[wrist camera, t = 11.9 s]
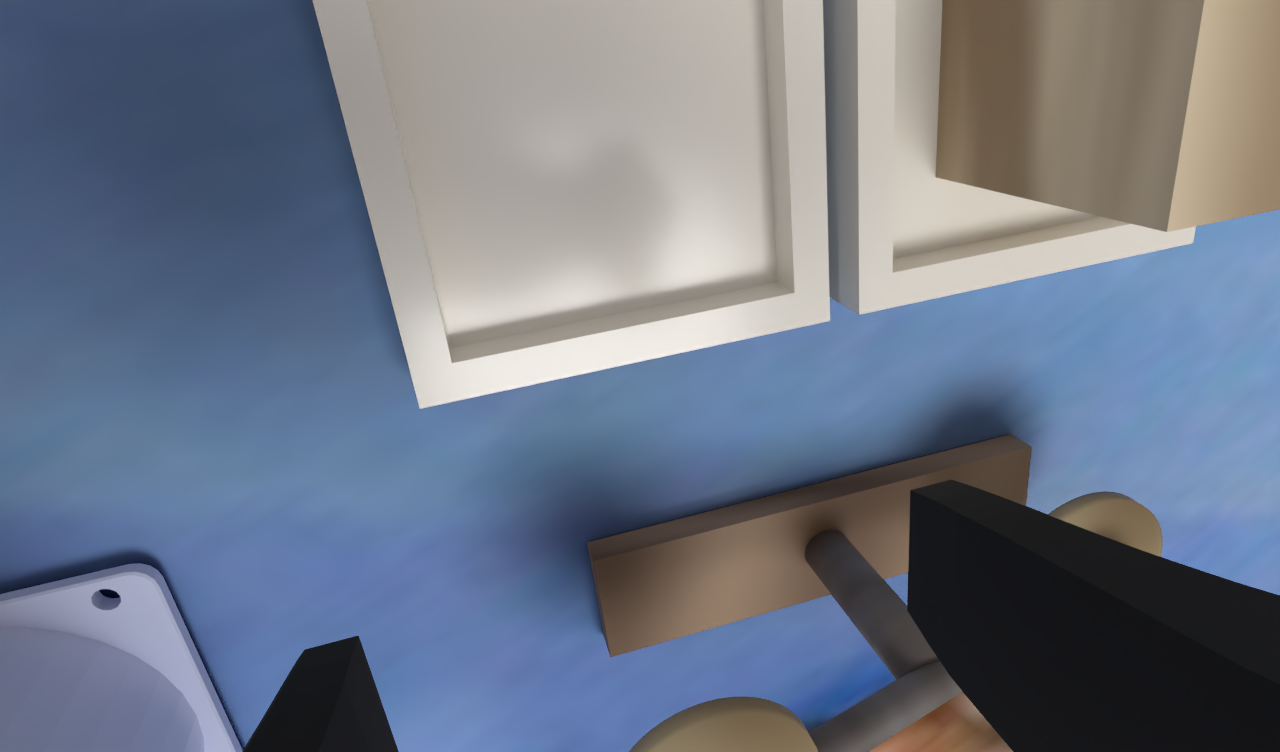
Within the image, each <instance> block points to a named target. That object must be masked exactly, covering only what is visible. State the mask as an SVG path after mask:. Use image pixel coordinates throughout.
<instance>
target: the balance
mask: <svg viewBox="0 0 1280 752" xmlns="http://www.w3.org/2000/svg"><path fill="white" fill-rule="evenodd" d="M1030 458H1031V446H1029V445H1028V444H1026V443H1024V442H1023V441H1021V440H1020V439H1018V438H1017V437H1015V436H1014V435H1012V434H1009V435H1005V436H1001V437H997V438H994V439H990V440H986V441H982V442H978V443H974V444H970V445H966V446H962V447H958V448H954V449H951V450H947V451H943V452H939V453H935V454H931V455H927V456H923V457H919V458H915V459H911V460H907V461H904V462H900V463H896V464H892V465H888V466H884V467H880V468H876V469H872V470H868V471H864V472H860V473H857V474H853V475H849V476H845V477H841V478H837V479H833V480H829V481H825V482H821V483H817V484H814V485H810V486H806V487H802V488H798V489H794V490H790V491H786V492H782V493H778V494H774V495H770V496H767V497H763V498H759V499H755V500H751V501H747V502H743V503H739V504H735V505H731V506H727V507H724V508H720V509H716V510H712V511H708V512H704V513H700V514H696V515H692V516H688V517H684V518H680V519H677V520H673V521H669V522H665V523H661V524H657V525H653V526H649V527H645V528H641V529H637V530H634V531H630V532H626V533H622V534H618V535H614V536H610V537H606V538H602V539H598V540H594V541H590V542H587V545H588V550H589V556H590V562H591V567H592V573H593V578H594V584H595V590H596V595H597V601H598V606H599V612H600V617H601V623H602V629H603V634H604V638H605V641H606V644H607V648H608V651H609V654H610V657H613V656H616V655H620V654H623V653H627V652H630V651H634V650H637V649H641V648H644V647H648V646H651V645H655V644H658V643H662V642H665V641H669V640H672V639H676V638H679V637H683V636H686V635H690V634H693V633H697V632H700V631H704V630H707V629H711V628H714V627H718V626H721V625H725V624H728V623H732V622H735V621H739V620H742V619H746V618H749V617H753V616H756V615H760V614H763V613H767V612H770V611H774V610H777V609H781V608H785V607H788V606H792V605H795V604H799V603H802V602H806V601H809V600H813V599H816V598H820V597H823V596H827V595H830V594H831V595H832V596H833V597H834V598H835V600H836V601H837V602H838V604H839V605H840V606H841V608H842V609H843V610H844V612H845V613H846V614H847V615H848V617H849V618H850V619H851V621H852V622H853V623H854V625H855V626H856V627H857V629H858V630H859V631H860V632H861V634H862V635H863V636H864V638H865V639H866V640H867V642H868V643H869V644H870V646H871V647H872V648H873V650H874V651H875V652H876V653H877V655H878V656H879V657H880V659H881V660H882V661H883V663H884V664H885V665H886V667H887V668H888V669H889V670H890V672H891V673H892V674H893V676H894V677H895V678H896V681H894V682H893V683H891V684H889V685H888V686H886V687H884V688H883V689H881V690H879V691H878V692H876V693H874V694H873V695H871V696H869V697H868V698H866V699H864V700H863V701H861V702H859V703H858V704H856V705H854V706H853V707H851V708H849V709H848V710H846V711H844V712H843V713H841V714H839V715H838V716H836V717H834V718H833V719H831V720H829V721H828V722H826V723H824V724H823V725H821V726H819V727H818V728H816V729H814V730H813V731H811V732H809V733H808V731H807V730H806V728H805V726H804V725H803V723H802V722H801V720H800V719H799V718H798V717H797V716H796V715H795V714H794V713H793V712H791V711H790V710H789V709H787V708H785V707H784V706H782V705H780V704H778V703H775V702H772V701H770V700H766V699H761V698H755V697H729V698H722V699H716V700H712V701H708V702H704V703H701V704H698V705H695V706H692V707H690V708H687V709H685V710H683V711H681V712H679V713H677V714H675V715H673V716H671V717H670V718H668V719H666V720H664V721H663V722H661V723H660V724H659V725H657V726H656V727H654V728H653V729H652V730H650V731H649V732H648V733H647V734H646V735H645V736H643V737H642V738H641V739H640V740H639V741H638V742H637V743H636V744H635V745H634V746H633V747H632V749H631V750H630V751H629V752H868V751H870V750H872V749H873V748H875V747H876V746H878V745H879V744H881V743H883V742H884V741H886V740H887V739H889V738H890V737H892V736H893V735H895V734H897V733H898V732H900V731H901V730H903V729H904V728H906V727H908V726H909V725H911V724H912V723H914V722H915V721H917V720H919V719H920V718H922V717H923V716H925V715H926V714H928V713H930V712H931V711H933V710H934V709H936V708H937V707H939V706H940V705H942V704H944V703H945V702H947V701H948V700H950V699H951V698H953V697H955V696H956V695H958V694H959V693H961V692H962V690H961V689H960V688H959V686H958V685H957V684H956V683H955V681H954V680H953V679H952V678H951V677H950V675H949V674H948V672H947V671H946V669H945V668H944V666H943V665H942V663H941V662H940V661H939V659H938V658H937V656H936V655H935V653H934V652H933V650H932V649H931V647H930V646H929V644H928V643H927V641H926V639H925V638H924V636H923V635H922V633H921V631H920V630H919V628H918V627H917V625H916V624H915V622H914V620H913V619H912V617H911V616H910V614H909V612H908V611H907V605H906V604H905V603H904V602H903V601H902V600H901V599H900V597H899V596H898V595H897V594H896V593H895V592H894V591H893V590H892V588H891V587H890V586H889V585H888V584H887V583H886V582H885V581H884V579H886V578H890V577H893V576H897V575H900V574H904V573H907V572H908V565H909V525H910V490H913V489H917V488H921V487H924V486H928V485H932V484H936V483H939V482H943V481H947V480H954V481H957V482H961V483H964V484H967V485H970V486H973V487H976V488H979V489H982V490H984V491H987V492H990V493H993V494H995V495H998V496H1001V497H1003V498H1006V499H1009V500H1011V501H1014V502H1016V503H1019V504H1022V505H1024V506H1026V499H1027V489H1028V478H1029V468H1030ZM1048 515H1050V516H1052V517H1055V518H1058V519H1060V520H1063V521H1065V522H1068V523H1071V524H1073V525H1076V526H1078V527H1081V528H1084V529H1086V530H1089V531H1091V532H1094V533H1097V534H1099V535H1102V536H1105V537H1107V538H1110V539H1113V540H1115V541H1118V542H1121V543H1123V544H1126V545H1129V546H1131V547H1134V548H1137V549H1140V550H1142V551H1145V552H1148V553H1151V554H1154V555H1156V556H1159V557H1161V553H1162V533H1161V528H1160V525H1159V523H1158V521H1157V519H1156V517H1155V516H1154V515H1153V514H1152V512H1151V511H1150V510H1148V509H1147V508H1145V507H1144V506H1142V505H1141V504H1139V503H1138V502H1136V501H1134V500H1133V499H1131V498H1130V497H1128V496H1125V495H1123V494H1120V493H1115V492H1096V493H1091V494H1086V495H1083V496H1080V497H1077V498H1075V499H1073V500H1071V501H1069V502H1066V503H1065V504H1063V505H1061V506H1060V507H1058V508H1056V509H1055V510H1053V511H1052V512H1051V513H1049V514H1048Z"/></svg>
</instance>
